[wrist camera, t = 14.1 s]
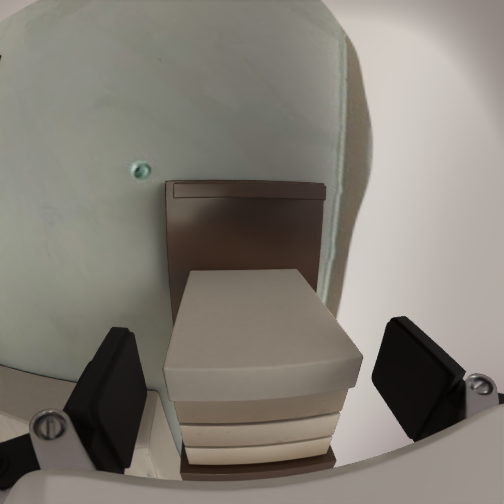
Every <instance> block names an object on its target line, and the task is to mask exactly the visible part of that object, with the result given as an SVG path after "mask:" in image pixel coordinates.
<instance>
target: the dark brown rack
mask: <svg viewBox="0 0 504 504" xmlns="http://www.w3.org/2000/svg"><path fill="white" fill-rule="evenodd" d="M165 196H166V234H167V255H168V271H169V284H170V296H171V307H172V317H173V326H174V325H175V321H176V318H177V314H178V311H179V307H180V304H181V300H182V297H183V294H184V290H185V287H186V284H187V281H188V277H189V274H190V271H211V270H271V269H297V270H298V271H299V272H300V274H301V275H302V276H303V277H304V279H305V280H306V281H307V282H308V284H309V285H310V286H311V288H312V289H313V290H314V292H315V293H316V290H317V280H318V270H319V260H320V248H321V235H322V221H323V204H324V200H326V186H324V183H310V182H292V181H266V180H173V181H166V182H165ZM347 392H348V389H343V390H337V391H331V392H325V393H318V394H311V395H304V396H296V397H287V398H276V399H264V400H249V401H221V402H195V401H174V405H175V409H176V414H177V418H178V422H180V423H179V427H180V431H181V435H182V449H181V461H180V475H181V478H182V480H183V481H245V480H259V479H269V478H278V477H286V476H293V475H300V474H306V473H311V472H317V471H322V470H327V469H331V468H333V467H334V465H335V463H336V458H335V456H334V453H333V451H332V448H331V446H330V442H331V440H332V435H333V434H334V432H335V429H336V425H337V423H338V420H339V417H340V412H339V411H341V410H342V408H343V405H344V401H345V398H346V395H347Z"/></svg>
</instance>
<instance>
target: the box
mask: <svg viewBox="0 0 504 504" xmlns="http://www.w3.org/2000/svg"><path fill="white" fill-rule="evenodd" d="M76 384H77V383H73V382H69V381H62V380H58V379H52V378H48V377H43V376H38V375H34V374H30V373H26V372H22V371H18V370H15V369H11V368H8V367H4V366H1V365H0V443H1V442H4V441H7V440H10V439H12V438H15V437H18V436H21V435H24V434H27V433H29V423H30V420H31V419H32V417H33V416H34V415H35V414H36V413H37V412H39V411H41V410H43V409H48V408H56V409H59V410H63V408H64V406H65V404H66V402H67V400H68V399H69V397H70V395H71V393H72V391H73V389H74V388H75V386H76ZM180 461H181V459H180V456H179V454H178V451H177V449H176V446H175V442H174V440H173V437H172V434H171V431H170V428H169V426H168V422H167V419H166V416H165V413H164V410H163V406H162V404H161V400H160V397H159V393H158V392H156V391H147V399H146V403H145V407H144V411H143V415H142V419H141V423H140V427H139V431H138V435H137V440H136V444H135V449H134V453H133V458H132V462H131V466H130V468H129V469H128V468H125V473H124V475H132V476H139V477H147V478H156V479H167V480H182V478H181V475H180Z"/></svg>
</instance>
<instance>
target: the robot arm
mask: <svg viewBox="0 0 504 504" xmlns="http://www.w3.org/2000/svg"><path fill="white" fill-rule="evenodd" d="M465 373H466V371H465V370H464V369H463V368H462V367H461V366H460V365H459V364H458V363H457V362H456V361H455V360H454V359H453V358H451V357H450V356H449V355H448V354H447V353H446V352H445V351H444V350H443V349H442V348H441V347H440V346H438V345H437V344H436V343H435V342H434V341H433V340H432V339H431V338H430V337H428V336H427V335H426V334H425V333H424V332H423V331H422V330H421V329H420V328H419V327H417V326H416V325H415V324H414V323H413V322H412V321H411V320H409V319H408V318H407V317H406V316H401V317H394V318H391V320H390V322H388V323H387V325H386V328H385V332H384V336H383V339H382V343H381V346H380V350H379V353H378V357H377V360H376V363H375V366H374V370H373V373H372V382H373V384H374V386H375V387H376V389H377V390H378V391H379V393H380V395H381V396H382V398H383V399H384V401H385V402H386V403H387V405H388V407H389V408H390V410H391V411H392V413H393V414H394V416H395V417H396V419H397V420H398V422H399V424H400V425H401V426H402V428H403V430H404V431H405V433H406V434H407V436H408V437H409V438H410V439H413V441H414V442H415V443H413V444H410V445H407V446H405V447H402V448H399V449H397V450H394V451H391V452H388V453H385V454H382V455H379V456H376V457H373V458H369V459H366V460H363V461H359V462H355V463H352V464H348V465H344V466H340V467H335V468H331V469H327V470H322V471H317V472H311V473H306V474H300V475H293V476H286V477H278V478H269V479H259V480H245V481H183V480H167V479H156V478H147V477H139V476H132V475H124V473H125V468H128V469H129V468H130V466H131V462H132V458H133V453H134V449H135V444H136V440H137V435H138V431H139V427H140V423H141V419H142V415H143V411H144V407H145V403H146V399H147V387H146V383H145V379H144V375H143V371H142V367H141V363H140V359H139V354H138V350H137V345H136V340H135V335H134V333H133V332H130V331H129V329H128V328H121V327H112V328H111V329H110V331H109V333H108V334H107V336H106V337H105V339H104V341H103V342H102V344H101V346H100V347H99V349H98V351H97V352H96V354H95V356H94V358H93V359H92V361H90V362H89V363H88V365H87V366H86V368H85V370H84V371H83V373H82V375H81V377H80V379H79V380H78V382H77V384H76V386H75V388H74V389H73V391H72V393H71V395H70V397H69V399H68V400H67V402H66V404H65V406H64V408H63V410H59V409H56V408H48V409H43V410H41V411H39V412H37V413H36V414H35V415H34V416H33V417H32V419H31V420H30V423H29V433H27V434H24V435H21V436H18V437H15V438H12V439H10V440H7V441H4V442H1V443H0V504H504V394H501V393H498V392H497V387H496V384H495V383H494V381H493V380H492V379H491V378H489V377H488V376H486V375H483V374H477V373H475V374H471V375H469V376H468V377H467V379H466V380H465V381H464V380H463V377H464V375H465Z"/></svg>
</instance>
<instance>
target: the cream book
mask: <svg viewBox="0 0 504 504" xmlns="http://www.w3.org/2000/svg"><path fill="white" fill-rule="evenodd" d="M362 360H363V355H362V354H361V353H360V351H359V350H358V348H357V347H356V345H355V344H354V343H353V342H352V340H351V339H350V337H349V336H348V335H347V334H346V332H345V331H344V329H343V328H342V327H341V326H340V324H339V323H338V322H337V320H336V319H335V318H334V316H333V315H332V314H331V312H330V311H329V310H328V308H327V307H326V306H325V305H324V303H323V302H322V301H321V299H320V298H319V297H318V295H317V294H316V293H315V292H314V290H313V289H312V288H311V286H310V285H309V284H308V282H307V281H306V280H305V279H304V277H303V276H302V275H301V274H300V272H299V271H298V270H297V269H271V270H211V271H190V274H189V277H188V281H187V284H186V287H185V290H184V294H183V297H182V300H181V304H180V307H179V311H178V314H177V318H176V321H175V325H174V328H173V332H172V336H171V339H170V343H169V347H168V350H167V354H166V358H165V362H164V366H163V373H164V378H165V383H166V388H167V392H168V396H169V400H171V401H195V402H221V401H249V400H264V399H276V398H287V397H296V396H304V395H311V394H318V393H325V392H331V391H337V390H343V389H348V388H353V387H355V385H356V381H357V378H358V374H359V371H360V367H361V363H362Z"/></svg>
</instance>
